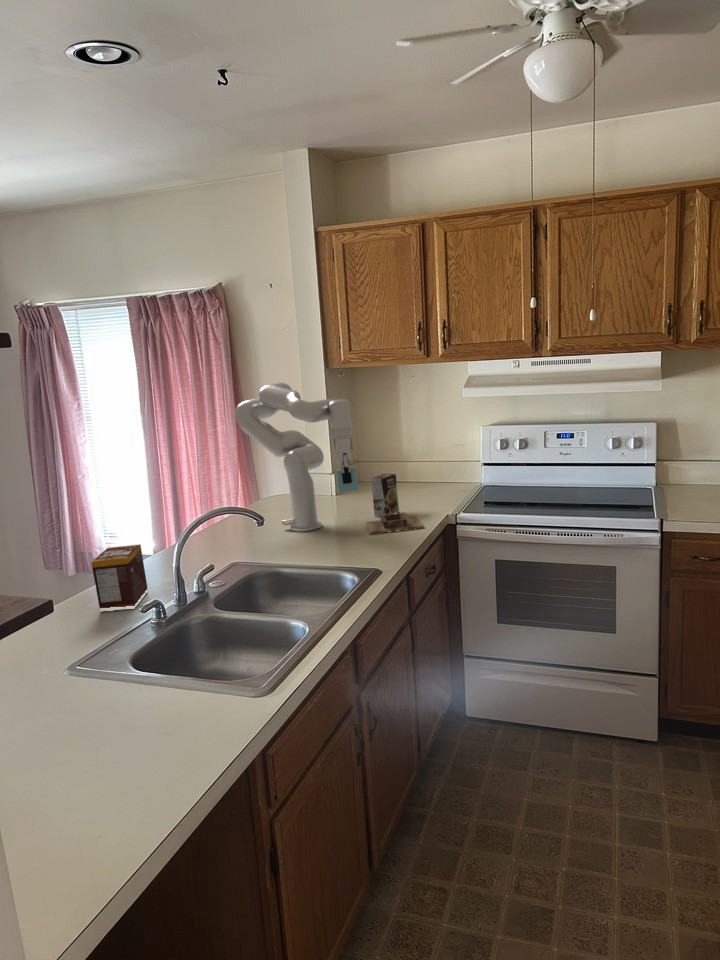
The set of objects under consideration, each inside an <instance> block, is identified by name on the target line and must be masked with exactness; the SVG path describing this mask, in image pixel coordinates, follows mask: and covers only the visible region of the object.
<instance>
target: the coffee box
mask: <svg viewBox="0 0 720 960" xmlns="http://www.w3.org/2000/svg"><path fill="white" fill-rule="evenodd" d="M370 479H371V490H372V492H371V493H372V502H373V512H374V517H375V518H376V517H377V518H381V517H380V515H387V514H394V513H396V512H399V513H400V507H399V496H398V485H397V473H396V474H395V473H382V474H380V475H376V476H373V477H371V478H370Z"/></svg>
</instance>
